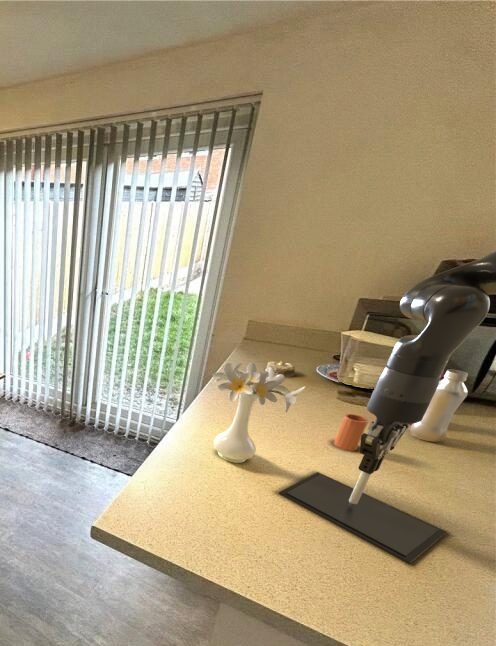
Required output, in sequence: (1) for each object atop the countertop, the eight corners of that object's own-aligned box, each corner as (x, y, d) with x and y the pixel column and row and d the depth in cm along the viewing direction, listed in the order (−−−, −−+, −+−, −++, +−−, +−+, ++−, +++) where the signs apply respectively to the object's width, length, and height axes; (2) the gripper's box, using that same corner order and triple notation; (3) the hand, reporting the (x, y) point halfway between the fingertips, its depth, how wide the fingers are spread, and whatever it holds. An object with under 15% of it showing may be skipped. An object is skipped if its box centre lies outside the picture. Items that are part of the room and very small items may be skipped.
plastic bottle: (419, 431, 112) (451, 366, 104) (448, 443, 106) (484, 375, 98) (400, 433, 111) (431, 368, 103) (429, 446, 105) (464, 377, 97)
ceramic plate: (369, 399, 131) (372, 391, 130) (298, 372, 154) (300, 365, 153) (428, 392, 136) (432, 384, 134) (350, 366, 159) (353, 359, 158)
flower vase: (278, 481, 93) (311, 385, 83) (192, 458, 102) (212, 369, 92) (275, 454, 103) (305, 366, 93) (197, 436, 112) (216, 353, 102)
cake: (298, 380, 149) (303, 367, 146) (268, 378, 151) (272, 365, 149) (288, 368, 157) (292, 356, 154) (260, 367, 160) (263, 355, 157)
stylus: (357, 506, 82) (383, 449, 77) (354, 508, 82) (379, 451, 76) (349, 502, 84) (374, 446, 78) (345, 504, 83) (370, 448, 77)
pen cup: (359, 449, 104) (372, 419, 101) (350, 453, 102) (362, 423, 99) (338, 441, 108) (350, 412, 105) (329, 445, 106) (341, 416, 103)
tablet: (445, 534, 77) (447, 530, 76) (408, 565, 70) (410, 561, 70) (316, 474, 95) (317, 471, 94) (277, 494, 88) (279, 491, 88)
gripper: (413, 408, 66) (375, 491, 73) (446, 392, 72) (407, 470, 79) (358, 392, 73) (328, 470, 79) (393, 378, 78) (361, 452, 85)
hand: (367, 469), depth 79 cm, fingers closed on stylus, 1 cm apart
